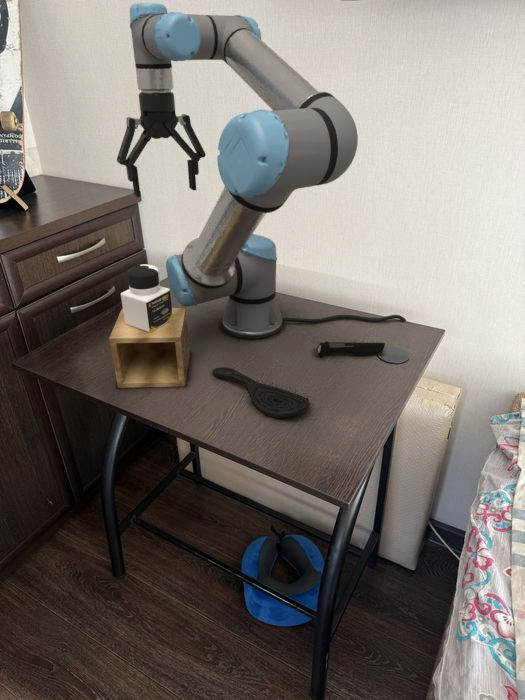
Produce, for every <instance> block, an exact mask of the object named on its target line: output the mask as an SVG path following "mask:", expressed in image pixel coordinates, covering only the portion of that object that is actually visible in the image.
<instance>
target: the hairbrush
mask: <svg viewBox="0 0 525 700" xmlns="http://www.w3.org/2000/svg"><path fill="white" fill-rule="evenodd" d="M212 373H213V375H214V376H215V377H218V378H221V379H226V380H230V381H231V380H232V381H235V382H237V383H238V384H241V385H244V386H245V388H246V389H247V392H248V393H249V397H250V401H251V403H252V404H253V405H254V407H255V408H256V409H257V410H258V412H259V413H262V414H264V415H265V416H268V417H272V418H276V419H279V418H291V417H294V416H296V415H299V414H302V413H304V412H305V411H306V410H308V409H309V408H310V405H311V403H310V399H309V396H304V395H307V393H306V392H304V395H301V393H302V392H300V394H299V393H297V389H295V390H294V388H291V387H288V389H289V390H287V389H283V388H280V387H278V386H281V384H279V383H278V384H277V385H278V386H277V385H275V386H274V385H273V383H274V382H271V384H269V383H270V382H268V384H266V383H262V381H263V380H262V379H261V380H255V379H253V378H251V377H249V376H248V375H245V374H244V373H242V372H240V371H239V370H236V369H235V368H232V367H226V366H222V367H220V366H219V367H215V368H213V369H212ZM259 381H261V383H260V382H259ZM283 387H284V388H286V386H285V385H283ZM291 390H294V391H291Z"/></svg>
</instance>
